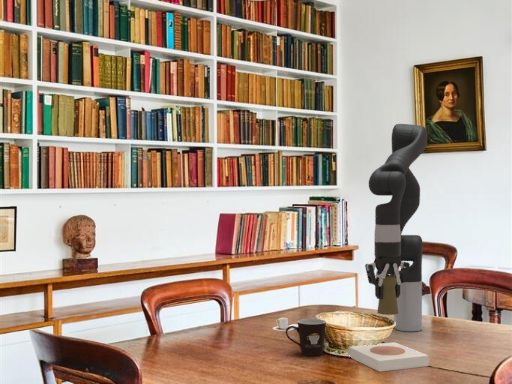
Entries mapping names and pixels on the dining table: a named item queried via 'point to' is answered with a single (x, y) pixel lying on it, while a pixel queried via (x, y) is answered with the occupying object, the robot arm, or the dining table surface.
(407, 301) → the robot arm
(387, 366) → the plinth
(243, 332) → the dining table surface
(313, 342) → the coffee mug
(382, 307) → the brown pawn
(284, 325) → the teacup and saucer
